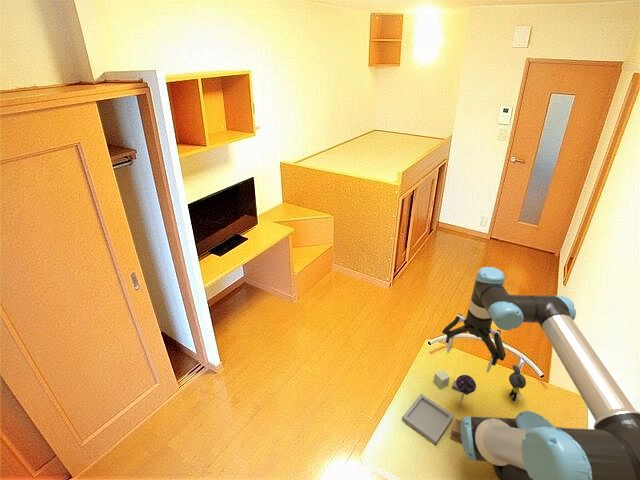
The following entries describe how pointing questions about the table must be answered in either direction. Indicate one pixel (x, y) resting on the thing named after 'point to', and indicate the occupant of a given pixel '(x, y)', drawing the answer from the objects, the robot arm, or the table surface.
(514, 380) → the toy
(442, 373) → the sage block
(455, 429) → the walnut cube
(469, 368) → the table surface
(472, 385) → the lollipop
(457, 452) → the table surface
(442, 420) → the tray
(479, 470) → the table surface
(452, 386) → the rubber eraser
